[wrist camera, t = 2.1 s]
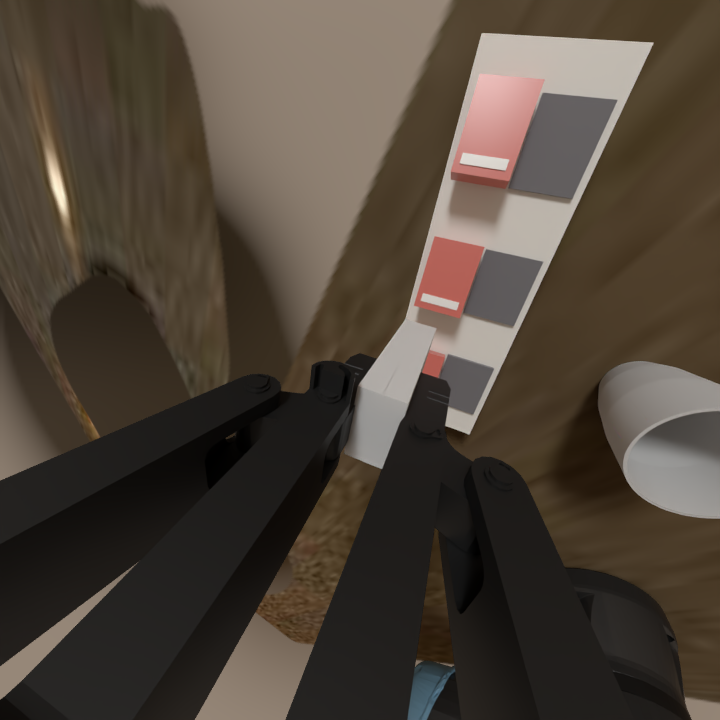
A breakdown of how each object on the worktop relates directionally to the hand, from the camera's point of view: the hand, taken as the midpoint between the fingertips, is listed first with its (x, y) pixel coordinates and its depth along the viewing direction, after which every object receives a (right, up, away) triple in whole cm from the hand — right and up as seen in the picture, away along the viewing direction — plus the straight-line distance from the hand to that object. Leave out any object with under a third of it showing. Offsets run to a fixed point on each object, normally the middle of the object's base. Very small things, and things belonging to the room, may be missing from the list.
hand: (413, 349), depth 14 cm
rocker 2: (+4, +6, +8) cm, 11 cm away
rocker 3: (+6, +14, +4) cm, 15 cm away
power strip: (+7, +5, +14) cm, 16 cm away
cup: (+22, -3, +12) cm, 25 cm away
